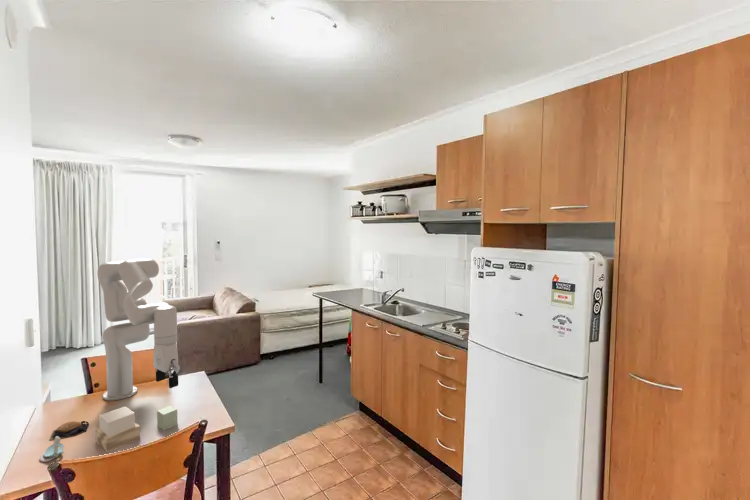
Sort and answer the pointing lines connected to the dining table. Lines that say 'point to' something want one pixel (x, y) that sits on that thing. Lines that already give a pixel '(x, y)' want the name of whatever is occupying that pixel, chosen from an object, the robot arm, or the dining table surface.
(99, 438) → the tower base
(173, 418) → the sage block
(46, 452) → the pacifier
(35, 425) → the dining table surface
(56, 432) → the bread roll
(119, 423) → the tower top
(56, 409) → the dining table surface
